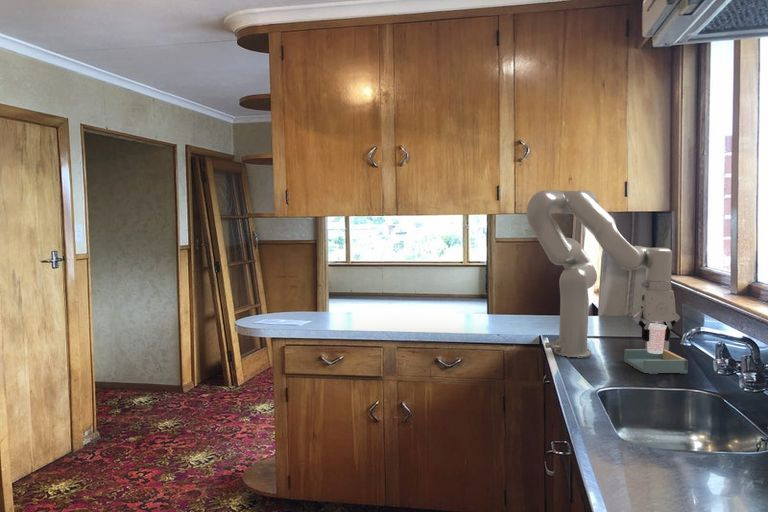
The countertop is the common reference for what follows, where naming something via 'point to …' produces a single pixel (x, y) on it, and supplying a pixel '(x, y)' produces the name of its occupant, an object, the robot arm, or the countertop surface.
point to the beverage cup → (656, 338)
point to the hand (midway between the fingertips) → (655, 339)
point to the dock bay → (655, 361)
